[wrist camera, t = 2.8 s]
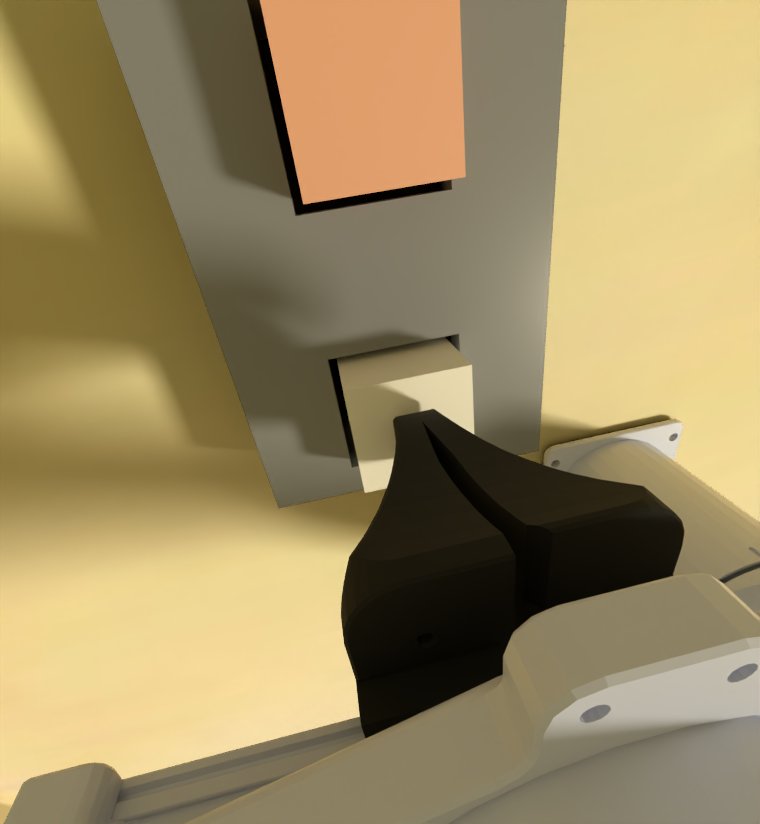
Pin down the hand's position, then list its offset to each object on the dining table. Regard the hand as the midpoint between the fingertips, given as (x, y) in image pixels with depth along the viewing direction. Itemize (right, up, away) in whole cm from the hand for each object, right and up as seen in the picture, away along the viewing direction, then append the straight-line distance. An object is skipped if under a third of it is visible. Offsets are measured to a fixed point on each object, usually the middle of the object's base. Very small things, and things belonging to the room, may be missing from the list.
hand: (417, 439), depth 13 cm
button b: (-2, +10, -1) cm, 10 cm away
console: (-2, +7, +3) cm, 8 cm away
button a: (-1, +2, +3) cm, 4 cm away
